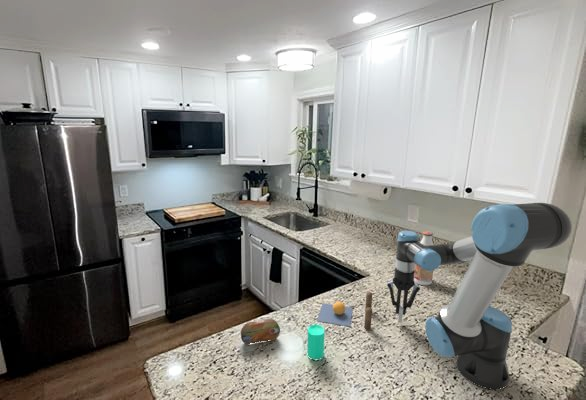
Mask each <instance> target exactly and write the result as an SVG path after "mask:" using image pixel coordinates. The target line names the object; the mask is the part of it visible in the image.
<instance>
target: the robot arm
mask: <svg viewBox="0 0 586 400" xmlns="http://www.w3.org/2000/svg"><path fill="white" fill-rule="evenodd" d="M572 225H573V223H572V221H571V218H570V216H568V214H567V213H566V212H565V210H563V209H562V208H561V207H558V206H557V205H555V204H552V203H546V202H532V203H531V202H530V203H516V204H515V203H513V204H511V203H500V204H495V205H489V206H486V207H485V208H483V209H481V210H480V211H478V212H477V213H476V214H475V216H474V218H473V220H472V222H471V227H470V230H471V231H472V233H471V236H467V237H465V238H461V239H459V240H457V241H453V242H450V243H442V244H434V245H427V246H426V245H423V244H421V243H420V242H421V241H419V234H418V233H417V232H415V231H412V230H402V231H399V232H398V235H397V243H396V254H395V265H394V266H395V268H394V274H393V275H394V276H393V278H392V280H391V281H387V282H386V284H387V285H386V287H388V289H389V294H390V300H391V305H392V306H393V307H394V306H395V314H397V322H398V323H403V316H405V315H406V313H407V309H408V308H409V309H410V308H412V306H413V303H414V301H415V298H416V296H417V294H418V293H419V291H420V290H421V287H420V284H417V283H416V282H414V274H415V271H414V270H415V264H416V265H417V266H419V267H420V268H422V269H424V270H426V271H433V272H434V271H435V270H437V269H439V267H440V266H446V265H456V264H457V265H458V264H459V265H460V264H465V263H466V264H467V263H469V262H470V261H471V262H470V264H469V266H468V268H467V269H466V272H465V274H464V276H463V278H462V280H461V281H460V284H459V286H458V287H457V289H456V292H455V293H454V295H453V298H452V300H451V301H450V303H448V304H444V305H443V306H442V307H441V309H440V311H439V313H438V315H437V316H431V317H428V318H427V319H426V321H425V325H424V327H425V329H424V331H425V334H426V337H427V340H428V342H429V345H430V346H431V347H432V349H433V350H434V352H435V353H436V354H437V355H439V356H440V357H443V358H448V357H450V358H454V357H456V364H455V365H456V369H457V370H458V372H459V371H460V372H459V373H460V374H461V375H462V376H463V377H464V378H465V377H466V378H467V379H468V380H467V379H466V378H465V379H466V380H467V381H469V380H470V381H471V383H472V382H473V383H472V384H474V383H475V384H474V385H476V384H477V385H476V386H478V385H480V386H482V387H481V388H483V387H486V388H491V389H500V388H503V387H505V386H506V387H508V385H509V382H510V381H509V379H510V372H509V368H508V363H507V355H508V349H509V345H510V341H511V340H510V339H511V334H512V332H513V328H512V327H513V322H512V319H511V318H510V317H509V315H508V314H506V313H505V312H504V311H502V310H501V309H498V308H496V307H494V306H491V303H492V302H493V300H494V298H495V297H496V296H497V293H498V292H499V290H500V289H501V287H502V286H503V284H504V282H505V280H506V279H507V277H508V276H509V274H510V272H511V270H512V269H513V268H519V267H522V266H523V265H524V264H525V263H526V260H527V259H528V258H529V256H530V255H531V253H532V252H533V251H537V250H547V249H553V248H555V247H558V246H560V245H562V244H563V243H564V242H566V241H567V240H568V239H569V237H570V236H571V234H572V230H573V229H572V228H573V226H572ZM394 286H395V288H396V289H397V291H396V300H395V294H394V289H393V287H394ZM411 289H412V291H411V293H410V296H409V299H408V294H409V291H410V290H411ZM402 292H403V298H402V304H401V297H402ZM470 381H469V382H470ZM507 384H508V385H507ZM480 386H479V387H480ZM506 387H505V388H506ZM486 388H485V389H486ZM491 389H490V390H491ZM503 389H504V388H503ZM500 390H501V389H500Z"/></svg>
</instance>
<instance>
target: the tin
mask: <svg viewBox="0 0 586 400" xmlns="http://www.w3.org/2000/svg"><path fill="white" fill-rule="evenodd" d="M280 333H281V328H280V325H279V323H278V322H277V320H275V319H274V318H273V319H272V318H266V319H261V320H254V321H249V322H247V323H245V324H244V325H242V327H241V330H240V339H241V341H242V342H243V344H245V345H247V346H249V345H248V344H250V343H255V342H259V341H260V342H261V341H268V340H273V341H275V340H276V339H278V337H279V336H280Z"/></svg>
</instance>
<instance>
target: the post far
mask: <svg viewBox="0 0 586 400" xmlns="http://www.w3.org/2000/svg"><path fill="white" fill-rule="evenodd" d="M365 294H366V295H365V308H364V310H366V307H370V308H372V305H373V302H372V301H373V293H372V292H371V291H367V292H366V293H365Z"/></svg>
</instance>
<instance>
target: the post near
mask: <svg viewBox="0 0 586 400" xmlns="http://www.w3.org/2000/svg"><path fill="white" fill-rule="evenodd" d="M364 310H365V309H364ZM364 312H365V313H364V326H363V327H364V328H365V329H366V331H371V330H370V329H372V318H373V317H372V316H373V308H372V307H371V308H370V307H366V310H365V311H364ZM364 328H363V329H364ZM365 329H364V330H365Z"/></svg>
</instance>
